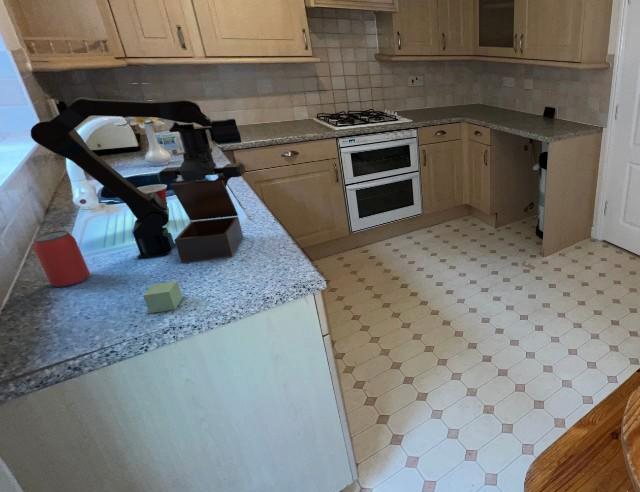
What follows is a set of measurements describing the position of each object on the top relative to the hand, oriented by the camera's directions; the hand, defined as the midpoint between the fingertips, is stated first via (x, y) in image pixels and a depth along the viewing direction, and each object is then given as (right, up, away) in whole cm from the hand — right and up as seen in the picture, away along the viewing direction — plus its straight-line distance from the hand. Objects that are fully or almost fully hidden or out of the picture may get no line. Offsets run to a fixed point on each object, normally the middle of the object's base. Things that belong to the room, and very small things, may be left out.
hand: (211, 201), depth 114 cm
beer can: (-20, -19, -17) cm, 33 cm away
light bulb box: (-89, +26, +93) cm, 131 cm away
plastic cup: (-27, -7, +13) cm, 31 cm away
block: (+10, -23, -26) cm, 36 cm away
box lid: (+1, 0, -4) cm, 4 cm away
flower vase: (-79, +19, +75) cm, 111 cm away
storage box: (+2, -13, -2) cm, 14 cm away
